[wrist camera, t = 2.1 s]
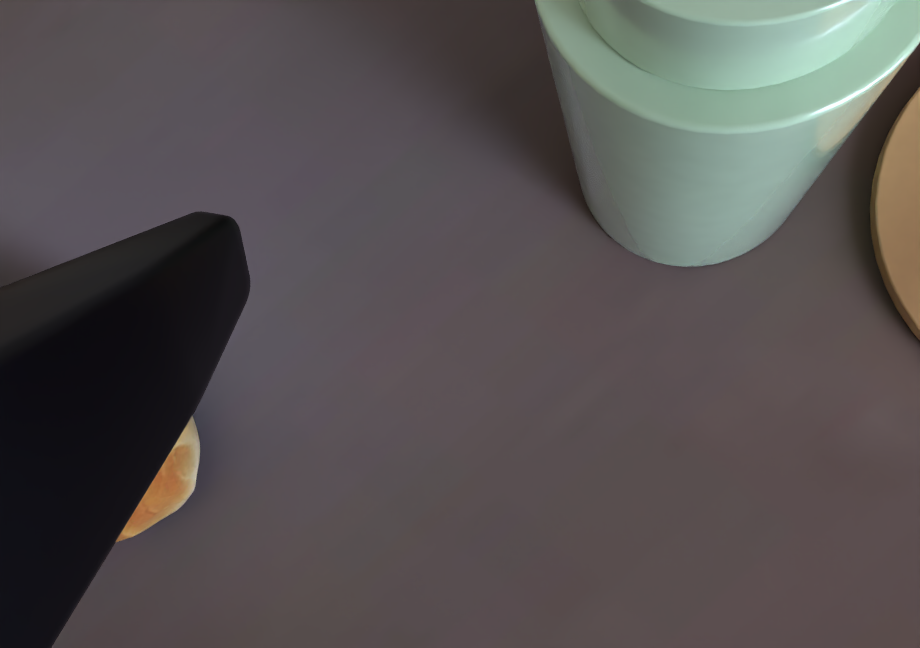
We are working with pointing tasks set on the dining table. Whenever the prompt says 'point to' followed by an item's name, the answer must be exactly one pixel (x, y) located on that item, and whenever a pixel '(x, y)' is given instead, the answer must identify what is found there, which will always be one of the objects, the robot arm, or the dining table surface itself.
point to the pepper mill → (714, 109)
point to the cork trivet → (899, 213)
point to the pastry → (168, 484)
